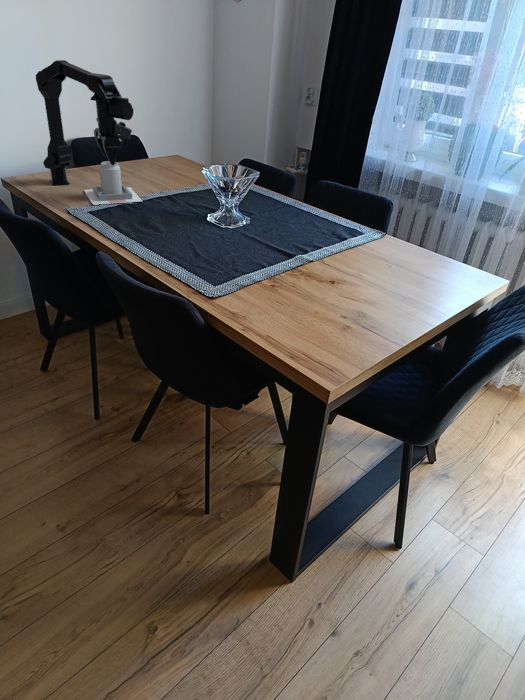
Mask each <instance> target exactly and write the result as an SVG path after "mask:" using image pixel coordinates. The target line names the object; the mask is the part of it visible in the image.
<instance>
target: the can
mask: <svg viewBox="0 0 525 700" xmlns="http://www.w3.org/2000/svg"><path fill="white" fill-rule="evenodd" d="M98 169H99V176H100V177H99V178H100V186H101V189H102V194H103V195H107V194H122V185H123V183H122V174H121V173H122V172H121V167H120V165H119V162H117V161H115V164H114V165H111V164H110V161H109V160H107V161H102V162H101V163H100V166H99V168H98Z"/></svg>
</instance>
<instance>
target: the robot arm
mask: <svg viewBox="0 0 525 700" xmlns="http://www.w3.org/2000/svg"><path fill="white" fill-rule="evenodd" d="M67 78H69V79H71V80H73V81H76V82H79V83H80V84H83V85H84V86H86V87H87V89H88V90H89V91H91V92H92V93H93V95H92V96H91V97H90V100H91V101H95V107H96V109H95V110H96V115H97V117H96V119H95V120H96V122H97V126H98V127H97V128H96V127H95V128H94V129H93V135H94V138H95V139H94V140H96V142H97V145H98V147H99V148H100V151H101V154H102V155H103V157H104V159H105V160H108V161H110V164H111V165H114V164H115V162H116V157H117V152H118V151H119V150H120V149H122V147H123V140H122V139H121V138H120V137H119V136H122V137H124V138H126V139H129V140H130V139H131V134H132V131H133V130H132V129H131V128H130V127H128V126H127V125H126V123H125V122H123V121H122V120H124V121H125V120H126V121H130V120H131V119H132V118H133V116H134V108H133V105H132V103H130V102H129V98H128V97H123V96H122V94H121V93H120V91H119V89H118V87H117V85H116V84H115V82H114V79H113V77H112V76H110V75H108V74H105V73H104V74H103V73H94V72H91V71H88V70H87V69H84V68H82V67H79V66H77V65H75V64H72V63H70V62H69V61H67V60H63V59H60V60H59V59H58V60H54V61H53V62H52V63H51V64H50V65H48V66H46V67H45V68H42V69H41V70H39V71H38V72H37V73H36V74H35V82H36V86H37V90H38V91H39V92H40V94H41V96H42V97H43V99H44V105H45V112H46V118H47V119H46V120H47V126H48V130H49V131H48V132H49V143H48V145H47V149H46V150H47V156H46V157H45V159H44V160H43V162H42V163H43V166H44V168H46V169H49V171H50V178H51V179H49V181H50V183H51V185H52V186H62V185H63V186H64V185H70V182H69V180H68V177H67V169H66V167H70V166H71V162H72V157H73V152H72V146H71V144H68V143H67V142H66V141H65V136H64V135H65V134H64V128H63V121H62V113H61V112H62V111H61V106H60V96H61V94H62V92H63V91H62V90H63V85H62V84H63V82H64V81H65V80H66V79H67ZM116 119H120V120H121V121H119V122H117V120H116Z"/></svg>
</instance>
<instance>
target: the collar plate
mask: <svg viewBox="0 0 525 700" xmlns="http://www.w3.org/2000/svg"><path fill="white" fill-rule="evenodd" d="M83 192H84V193H85V195H86V197H87V198H88V200H89V201H90V203H91V204H93V205H99V204H111V203H127V202H142V203H143V200H142V199H141V198H140V197H139V196H138V194H137V193H136V192H135V191H134V190H133V188H132V187H130V186H129V187H127V186H126V185H125V184H122V194H107V195H103V194H102V189H101V185H95V186H92V188H91V189H90V188H89V189H83ZM93 205H92V206H93Z"/></svg>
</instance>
